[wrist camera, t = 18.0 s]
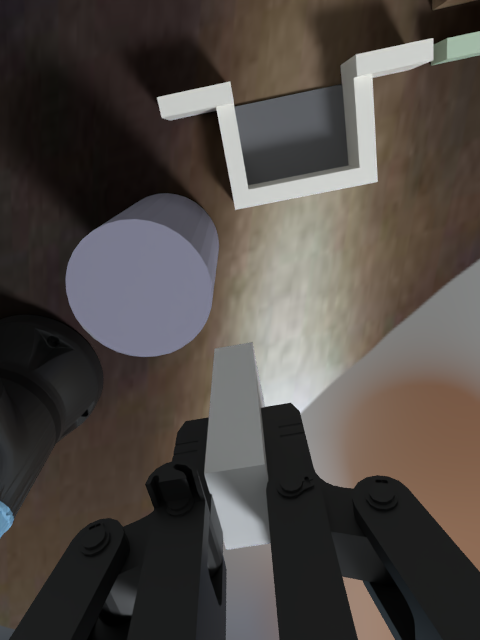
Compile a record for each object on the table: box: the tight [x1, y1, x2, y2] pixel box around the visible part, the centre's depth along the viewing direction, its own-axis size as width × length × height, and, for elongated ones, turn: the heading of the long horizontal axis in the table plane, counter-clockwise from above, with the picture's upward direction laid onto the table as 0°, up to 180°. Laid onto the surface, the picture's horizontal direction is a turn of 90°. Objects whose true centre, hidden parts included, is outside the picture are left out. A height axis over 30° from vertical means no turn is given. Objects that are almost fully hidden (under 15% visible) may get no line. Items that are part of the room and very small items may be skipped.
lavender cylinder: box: [66, 193, 219, 357], centre depth 36 cm, size 10×10×15 cm
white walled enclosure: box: [157, 38, 433, 210], centre depth 34 cm, size 22×24×5 cm
